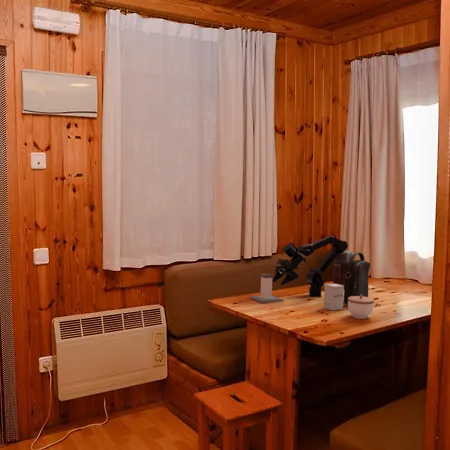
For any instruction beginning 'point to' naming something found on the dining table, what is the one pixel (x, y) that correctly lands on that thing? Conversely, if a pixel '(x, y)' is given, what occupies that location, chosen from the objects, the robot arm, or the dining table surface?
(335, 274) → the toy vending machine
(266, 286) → the block
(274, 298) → the pad
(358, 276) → the shoulder bag
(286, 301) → the dining table surface
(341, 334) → the dining table surface
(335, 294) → the supplement box
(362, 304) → the lidded bowl
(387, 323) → the dining table surface
